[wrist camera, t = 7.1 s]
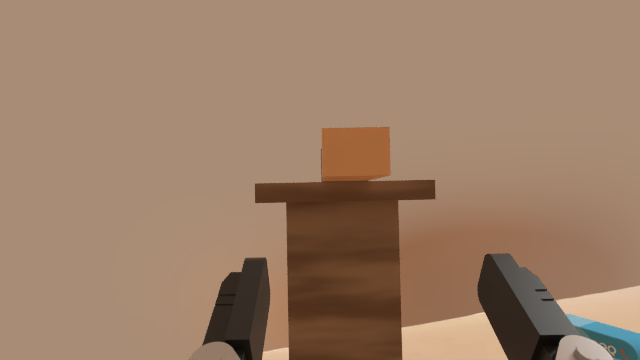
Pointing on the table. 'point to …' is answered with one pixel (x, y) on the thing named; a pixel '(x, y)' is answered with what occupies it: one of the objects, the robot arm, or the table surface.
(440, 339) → the table surface
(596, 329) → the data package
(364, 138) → the orange bar
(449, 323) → the table surface
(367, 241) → the shelf stand
